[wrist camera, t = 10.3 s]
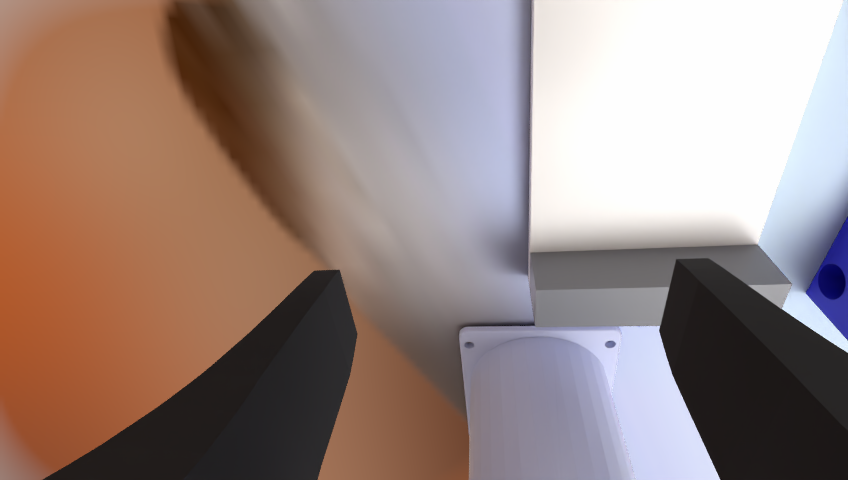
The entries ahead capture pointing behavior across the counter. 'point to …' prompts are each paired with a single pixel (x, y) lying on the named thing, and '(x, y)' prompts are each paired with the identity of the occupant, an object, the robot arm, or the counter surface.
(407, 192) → the counter surface
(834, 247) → the cable clip
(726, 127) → the clip dock
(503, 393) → the robot arm
